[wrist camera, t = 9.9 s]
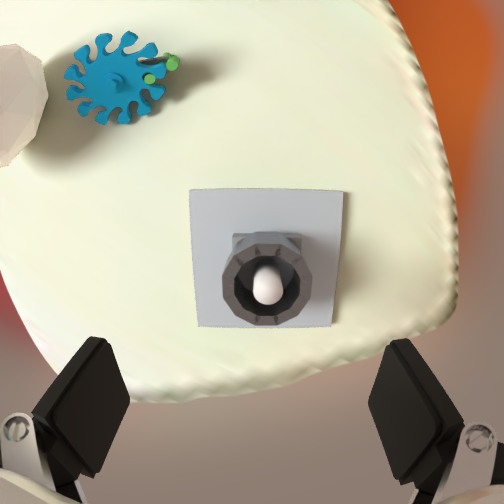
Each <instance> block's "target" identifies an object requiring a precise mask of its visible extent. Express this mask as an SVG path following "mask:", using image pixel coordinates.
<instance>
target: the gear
mask: <svg viewBox="0 0 504 504" xmlns="http://www.w3.org/2000/svg"><path fill="white" fill-rule="evenodd" d="M137 39H138V36H137V35H136V34H134V33H132V32H130V31H128V32H126V33H125V34H124V35H123V36H122V38H121V42H120V45H119V47H118V48H117V49H116V50H115V51H114V52H112V53H107V52H106V51H105V46H106V45H107V44H108V43H109V42H110V41H111V40H112V34H109V33H105V34H100V35H98V36H97V37H96V39H95V43H96V45H97V48H98V55H97V59H96V60H95V61H92V60H90V59H89V53H90V47H89V46H88V45H85V46H83V47H81V48H80V49H78V50H77V51H76V52H75V53H74V57H75V58H76V59H77V60H79V61H80V62H81V63H82V64H83V65H84V67H85V70H86V74H81V73H80V72H79V68H78V66H77V65H74V64H72V65H71V66H70V67H69V68H68V69H67V71H66V73H65V75H64V78H65V79H67V80H76V81H78V82H80V83H81V84H82V85H83V86H84V87H85V89H84V90H82V89H80V88H79V87H77V86H76V85H71V86H70V87H69V88H68V90H67V100H74V99H75V98H78V97H87V98H90V99H92V101H93V102H82V103H80V105H79V106H78V108H77V110H78V112H79V114H80V115H81V116H82V117H84V116H86V115H87V114H88V112H89V111H90V110H91V109H93V108H95V107H98V106H104V107H105V108H106V110H103V111H100V112H99V113H98V115H97V117H96V119H95V121H97V122H98V123H100V124H103V125H105V124H106V123H107V121H108V119H109V114H110V112H111V111H112V110H113V109H114V108H116V107H120V108H122V110H123V111H122V112H120V114H119V116H118V118H117V122H118V123H120V124H128V123H129V121H130V119H131V114H130V112H129V103H130V102H131V101H136V102H138V104H139V106H138V109H137V113H138V115H139V116H143V115H146V114H148V113H150V111H151V107H152V106H151V104H150V103H149V102H147V101H146V100H145V99H144V98H143V96H142V93H141V89H144V88H146V89H148V90H149V91H150V95H151V97H152V98H153V99H154V100H158V99H159V98H160V97H161V96H162V95H163V93H164V92H165V87H164V86H163V85H159V84H154V82H155V80H156V78H158V79H162V78H164V76H165V73H167V72H169V71H174V70H176V69H177V67H178V64H179V58H178V57H177V56H171V55H170V53H165V54H164V55H163V57H157V58H154V57H155V56H156V55H157V53H158V50H157V47H156V45H155V44H154V43H149V44H147V45H146V46H145V47H144V48H143V49H142V50H140V51H138V52H136V53H132V54H126V53H124V51H123V48H124V47H128V46H131V45H133V44H134V43H135V42H136V41H137ZM170 56H171V57H170ZM139 57H145V58H151V59H146V60H141V61H138V58H139Z"/></svg>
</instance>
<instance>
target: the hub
mask: <svg viewBox="0 0 504 504" xmlns="http://www.w3.org/2000/svg"><path fill="white" fill-rule="evenodd" d="M257 256H278V257H280V258H282V259H284V260H285V261H287V262H289V263H291V264H293V266H294V276H293V278H292V279H291V281H290V282H289V284H288V285H287V287H286V288H285V289H283V294H282V297H281V298H280V300H279V301H277V302H276V303H274V304H269V305H267V304H262V303H260V302H259V301H257V300H256V298H255V297H254V293H253V292H252V291H251V290H249V289H247V288H245V286H244V285H243V283H242V282H241V280H240V278H239V277H238V271H239V270H240V268H241V266H242V265H243V264H244V263H246V262H248V261H250V260H251V259H253V258H255V257H257ZM311 289H312V274H311V272H310V270H309V268H308V265H307V263H306V261H305V259H304V258H303V256H302V254H301V252H300V250H299V248H298V246H297V245H296V243H295V242H294V241H292V240H291V239H289V238H287V237H286V236H284V235H282V234H280V233H279V232H271V231H256V232H254V233H252V234H250V235H248V236H247V237H245V238H243V239H241V240H240V241H238V242H237V243H236V245H235V247H234V248H233V250H232V252H231V254H230V255H229V257H228V259H227V262H226V265H225V268H224V271H223V274H222V291H223V299H224V300H225V302H226V303H227V305H228V306H229V308H230V309H231V310H232V312H233V313H234V315H235V316H237V317H239V318H241V319H243V320H245V321H247V322H249V323H251V324H253V325H255V326H278V325H280V324H282V323H284V322H286V321H288V320H290V319H292V318H294V317H296V316H298V315H299V313H300V312H301V311H302V309H303V308H304V306H305V305H306V304H307V302H308V301H309V300H310V298H311Z"/></svg>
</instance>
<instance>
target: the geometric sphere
mask: <svg viewBox="0 0 504 504" xmlns="http://www.w3.org/2000/svg"><path fill="white" fill-rule="evenodd" d="M47 99H48V91H47V87H46V82H45V77H44V72H43V66H42V60H40V59H39V58H37V57H36V56H34V55H33V54H31V53H29V52H28V51H26V50H25V49H23V48H22V47H20V46H19V45H17V44H12V45H5V46H0V167H4V166H8V165H9V164H10V163H11V162H12V161H13V159H14V158H15V157H16V156H17V155H18V154H19V153H20V152H21V151H22V150H23V149H24V147H25V146H26V145H27V144H28V143H29V142H30V141H31V140H32V139H33V138H34V137H35V136H36V133H37V129H38V126H39V123H40V119H41V116H42V113H43V110H44V107H45V104H46V102H47Z"/></svg>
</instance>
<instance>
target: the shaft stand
mask: <svg viewBox="0 0 504 504" xmlns="http://www.w3.org/2000/svg"><path fill="white" fill-rule="evenodd" d="M189 206H190V228H191V246H192V261H193V274H194V287H195V298H196V309H197V319H198V327H222V328H309V327H331V321H332V314H333V307H334V299H335V291H336V282H337V273H338V263H339V252H340V240H341V226H342V210H343V191H336V190H312V189H260V188H247V189H195V190H189ZM256 231H271V232H279V233H280V234H282V235H284V236H286V237H287V238H289V239H291V240H292V241H294V242H295V243H296V245H297V246H298V248H299V250H300V252H301V254H302V256H303V258H304V259H305V261H306V263H307V265H308V268H309V270H310V272H311V274H312V289H311V298H310V300H309V301H308V302H307V304H306V305H305V306H304V308H303V309H302V311H301V312H300V313H299V315H298V316H296V317H294V318H292V319H290V320H288V321H286V322H284V323H282V324H280V325H278V326H255V325H253V324H251V323H249V322H247V321H245V320H243V319H241V318H239V317H237V316H235V315H234V313H233V312H232V310H231V309H230V308H229V306H228V305H227V303H226V302H225V300H224V299H223V291H222V274H223V271H224V268H225V265H226V262H227V259H228V257H229V255H230V254H231V252H232V250H233V248H234V247H235V245H236V243H237V242H238V241H240V240H241V239H243V238H245V237H247V236H248V235H250V234H252V233H254V232H256ZM293 276H294V266H293V264H291V263H289V262H287V261H285V260H284V259H282V258H280V257H278V256H257V257H255V258H253V259H251V260H250V261H248V262H246V263H244V264H243V265H242V266H241V268H240V270H239V271H238V277H239V278H240V280H241V282H242V283H243V285H244V286H245V288H247V289H249V290H251V291H252V292H253V293H254V297H255V298H256V300H257V301H259V302H260V303H262V304H267V305H269V304H274V303H276V302H277V301H279V300H280V298H281V297H282V294H283V289H285V288H286V287H287V285H288V284H289V282H290V281H291V279H292V278H293Z"/></svg>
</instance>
